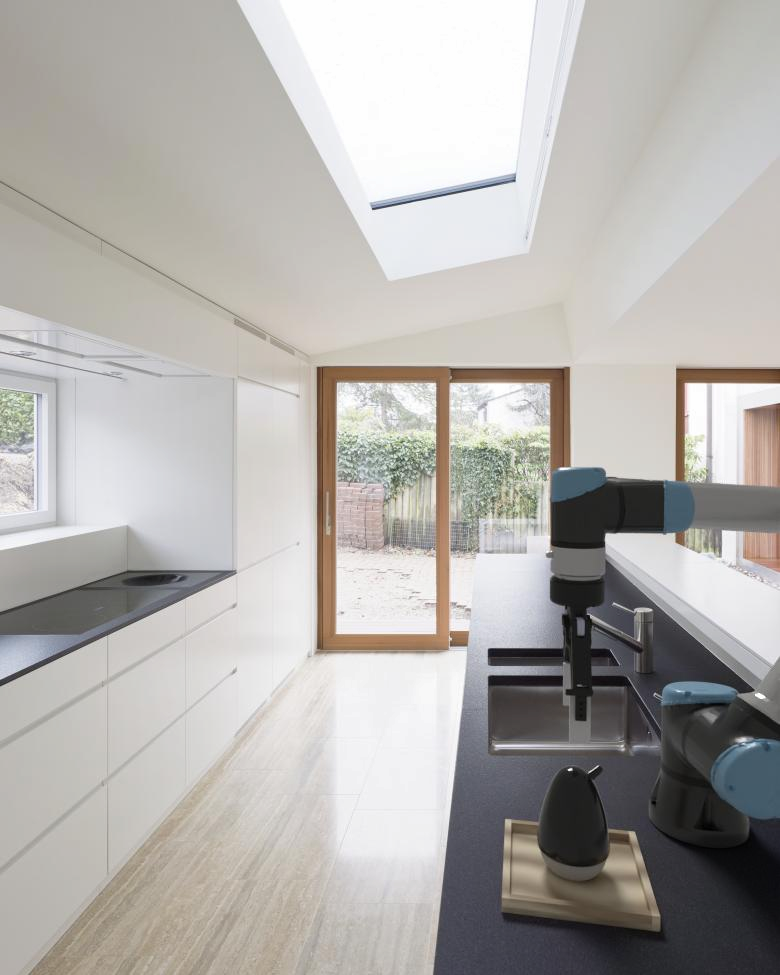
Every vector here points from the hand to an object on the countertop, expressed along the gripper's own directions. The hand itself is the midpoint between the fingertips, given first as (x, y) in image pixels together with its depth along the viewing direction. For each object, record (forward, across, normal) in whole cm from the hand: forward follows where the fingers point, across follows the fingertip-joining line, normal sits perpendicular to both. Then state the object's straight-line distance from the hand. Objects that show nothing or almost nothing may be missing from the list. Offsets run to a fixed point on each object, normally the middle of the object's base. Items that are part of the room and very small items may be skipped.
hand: (575, 722), depth 97 cm
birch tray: (+22, 0, 0) cm, 23 cm away
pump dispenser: (+22, 0, 0) cm, 22 cm away
